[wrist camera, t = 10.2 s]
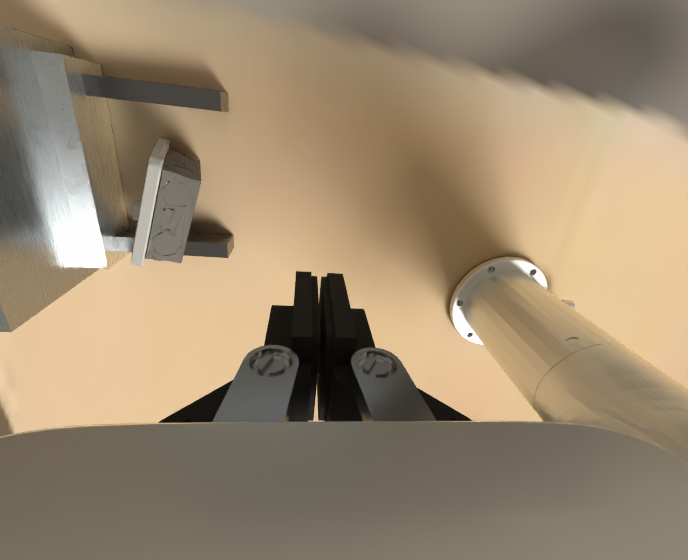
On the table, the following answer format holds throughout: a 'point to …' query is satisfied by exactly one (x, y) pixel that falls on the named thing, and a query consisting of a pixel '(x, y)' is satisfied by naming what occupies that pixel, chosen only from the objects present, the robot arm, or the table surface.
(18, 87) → the rail mount
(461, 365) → the table surface
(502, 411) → the table surface
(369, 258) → the table surface
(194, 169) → the electrical switch
